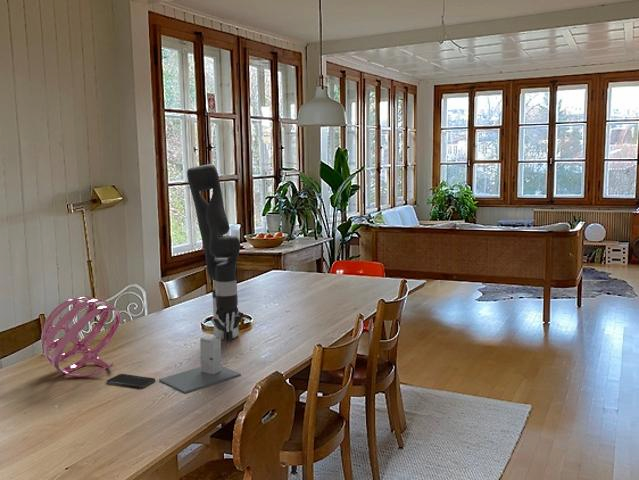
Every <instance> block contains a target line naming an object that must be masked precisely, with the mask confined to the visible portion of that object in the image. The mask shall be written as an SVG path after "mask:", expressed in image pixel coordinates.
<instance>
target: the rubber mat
mask: <svg viewBox="0 0 639 480" xmlns="http://www.w3.org/2000/svg"><path fill="white" fill-rule="evenodd" d="M241 375H242V373H240V372H238V371H236V370H234V369H233V370H232V369H230V368H227V367H226V366H223V365H221V371H220V372H218V373H216V374H208V373H205V372H201V366H199V367H195V368H192V369H189V370H185V371H182V372H179V373H175V374H172V375H169V376H166V377H165V376H164V377H162V378H159V379H158V381H159V382H161V383H163V384H165V385H166V386H169V387H171V388H173V389H175V390H177V391H178V392H181V393H183V394H187V393H191V392H194V391H197V390H200V389H203V388H207V387H209V386H212V385H215V384H218V383H222V382H224V381H227V380H230V379H234V378H237V377H240V376H241Z"/></svg>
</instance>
